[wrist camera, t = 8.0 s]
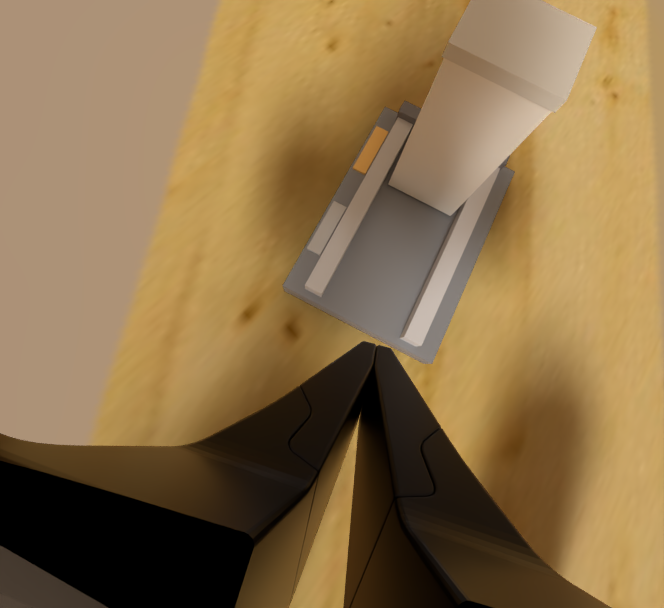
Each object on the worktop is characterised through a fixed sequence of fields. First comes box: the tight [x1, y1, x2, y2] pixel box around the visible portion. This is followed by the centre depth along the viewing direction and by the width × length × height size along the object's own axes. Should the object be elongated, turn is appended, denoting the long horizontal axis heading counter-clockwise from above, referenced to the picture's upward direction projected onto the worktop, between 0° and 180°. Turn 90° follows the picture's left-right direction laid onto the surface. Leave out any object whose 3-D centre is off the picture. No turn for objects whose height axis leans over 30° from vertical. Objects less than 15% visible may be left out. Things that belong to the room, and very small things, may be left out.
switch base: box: [283, 101, 514, 364], centre depth 22 cm, size 16×11×3 cm
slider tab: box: [388, 0, 597, 216], centre depth 17 cm, size 4×5×10 cm
